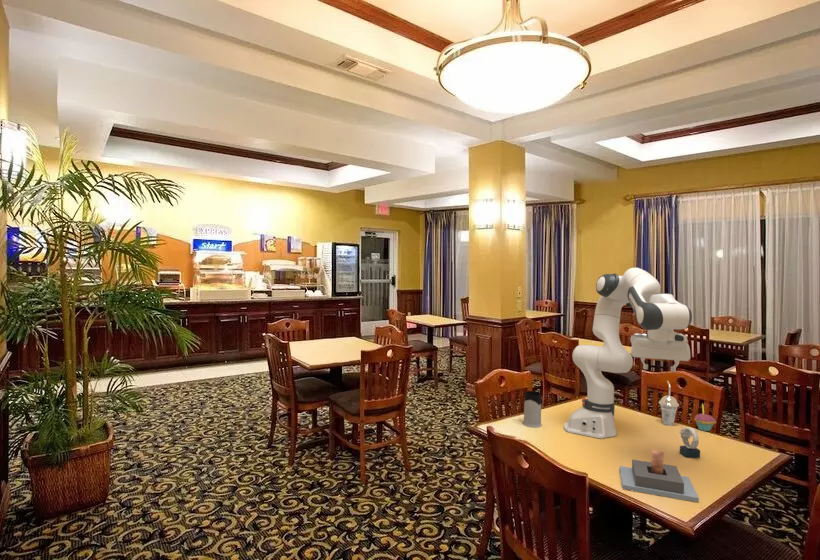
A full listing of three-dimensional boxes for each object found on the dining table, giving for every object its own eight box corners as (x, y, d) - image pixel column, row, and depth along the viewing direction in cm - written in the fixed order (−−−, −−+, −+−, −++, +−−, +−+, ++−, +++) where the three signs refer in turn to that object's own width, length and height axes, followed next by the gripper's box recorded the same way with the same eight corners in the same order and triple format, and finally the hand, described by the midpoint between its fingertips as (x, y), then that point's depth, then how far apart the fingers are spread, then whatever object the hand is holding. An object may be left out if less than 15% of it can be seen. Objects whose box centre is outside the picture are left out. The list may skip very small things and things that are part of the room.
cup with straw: (655, 423, 219) (656, 382, 219) (662, 419, 225) (663, 379, 225) (674, 428, 213) (676, 386, 212) (681, 424, 219) (682, 383, 218)
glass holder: (520, 425, 214) (521, 393, 213) (529, 417, 226) (530, 387, 225) (538, 429, 209) (539, 396, 209) (547, 420, 221) (547, 390, 221)
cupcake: (689, 426, 216) (690, 401, 216) (706, 426, 217) (707, 401, 217) (702, 432, 208) (703, 406, 207) (720, 432, 208) (721, 406, 208)
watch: (690, 451, 186) (691, 425, 185) (702, 460, 178) (703, 432, 177) (676, 451, 186) (677, 424, 186) (688, 459, 178) (689, 431, 178)
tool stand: (622, 489, 153) (622, 474, 152) (619, 469, 167) (619, 456, 167) (698, 502, 144) (699, 487, 144) (688, 481, 159) (688, 467, 159)
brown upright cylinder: (649, 480, 156) (650, 451, 155) (651, 477, 158) (653, 449, 158) (661, 484, 153) (662, 454, 153) (663, 480, 156) (664, 451, 156)
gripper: (631, 334, 177) (630, 369, 177) (692, 337, 169) (690, 374, 170) (629, 332, 183) (628, 366, 183) (688, 335, 175) (687, 371, 176)
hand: (659, 370), depth 176 cm, fingers open, 8 cm apart
